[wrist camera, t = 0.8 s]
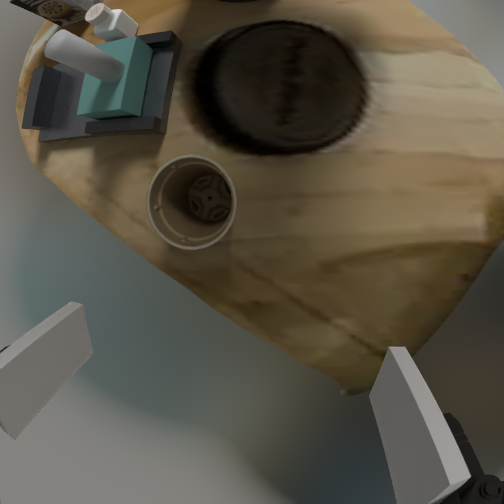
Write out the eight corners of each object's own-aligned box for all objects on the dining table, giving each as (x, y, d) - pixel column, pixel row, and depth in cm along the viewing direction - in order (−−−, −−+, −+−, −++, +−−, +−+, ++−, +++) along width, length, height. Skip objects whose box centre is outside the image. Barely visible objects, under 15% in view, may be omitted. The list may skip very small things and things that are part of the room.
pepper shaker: (120, 27, 29) (88, 4, 20) (140, 24, 29) (111, -3, 20) (112, 47, 30) (78, 26, 21) (133, 45, 30) (100, 20, 21)
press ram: (111, 57, 28) (39, 18, 13) (153, 50, 28) (86, -4, 12) (98, 120, 31) (12, 102, 16) (140, 116, 30) (55, 87, 15)
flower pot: (162, 202, 35) (130, 210, 27) (206, 145, 33) (182, 135, 25) (216, 248, 36) (196, 268, 28) (263, 192, 34) (257, 196, 25)
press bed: (60, 68, 31) (37, 59, 25) (181, 42, 29) (164, 22, 23) (46, 142, 35) (19, 140, 28) (165, 133, 33) (143, 125, 27)
